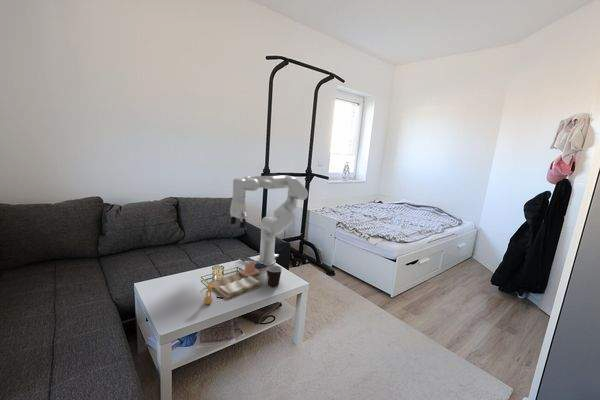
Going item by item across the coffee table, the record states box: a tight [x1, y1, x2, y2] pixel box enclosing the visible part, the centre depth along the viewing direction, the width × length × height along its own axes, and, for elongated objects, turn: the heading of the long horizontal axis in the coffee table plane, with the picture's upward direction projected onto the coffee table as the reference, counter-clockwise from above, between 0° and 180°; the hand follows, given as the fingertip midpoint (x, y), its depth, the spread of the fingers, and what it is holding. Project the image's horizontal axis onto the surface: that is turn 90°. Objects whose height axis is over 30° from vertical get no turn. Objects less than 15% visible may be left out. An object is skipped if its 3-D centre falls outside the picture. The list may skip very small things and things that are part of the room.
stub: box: [239, 259, 261, 277], centre depth 167 cm, size 10×7×7 cm
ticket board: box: [209, 272, 264, 301], centre depth 155 cm, size 24×18×3 cm
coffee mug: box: [266, 264, 283, 288], centre depth 160 cm, size 12×9×10 cm
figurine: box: [199, 282, 218, 305], centre depth 134 cm, size 8×6×12 cm
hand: (237, 225), depth 170 cm, fingers open, 9 cm apart
